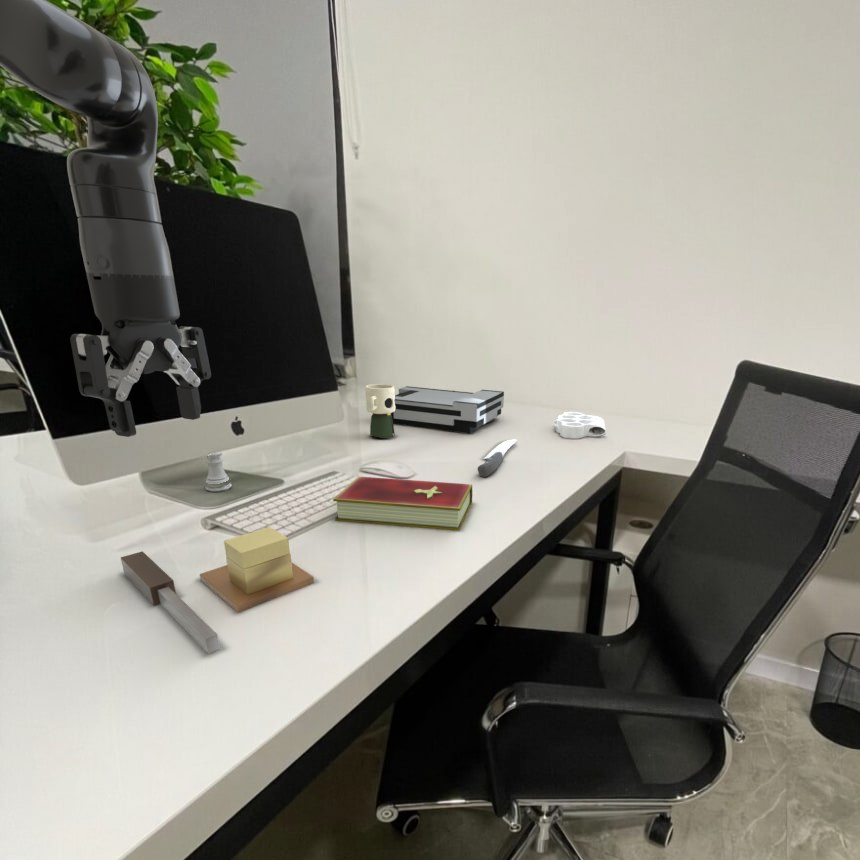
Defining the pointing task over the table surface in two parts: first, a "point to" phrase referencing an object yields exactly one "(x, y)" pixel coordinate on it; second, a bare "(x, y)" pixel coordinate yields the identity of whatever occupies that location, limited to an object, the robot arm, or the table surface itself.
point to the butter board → (256, 598)
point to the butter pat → (256, 547)
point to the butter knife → (167, 598)
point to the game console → (446, 408)
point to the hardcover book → (405, 503)
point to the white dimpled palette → (579, 425)
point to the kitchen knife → (494, 458)
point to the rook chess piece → (216, 473)
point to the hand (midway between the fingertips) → (160, 426)
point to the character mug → (381, 409)
